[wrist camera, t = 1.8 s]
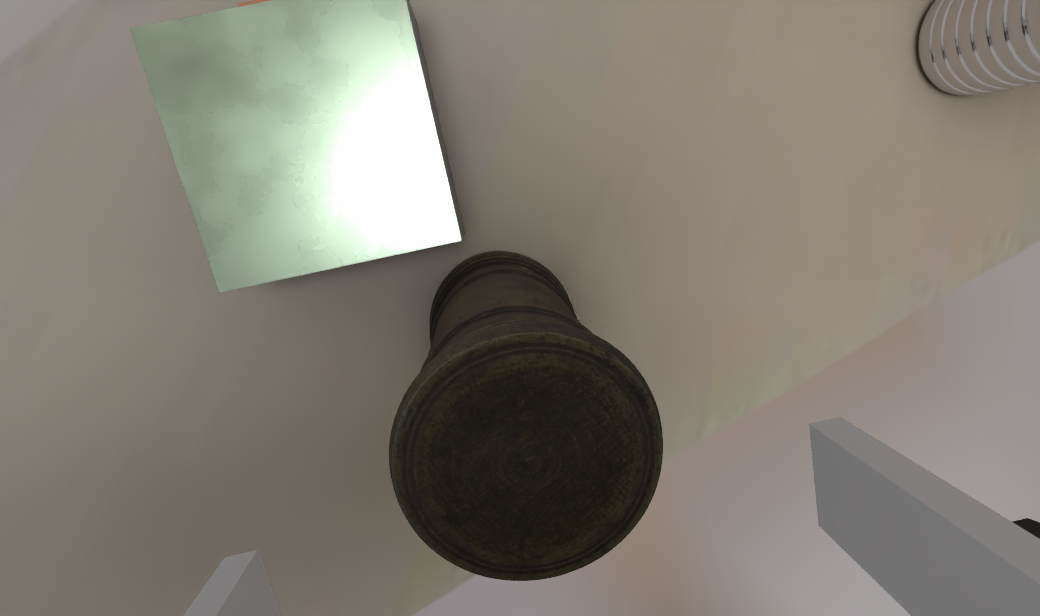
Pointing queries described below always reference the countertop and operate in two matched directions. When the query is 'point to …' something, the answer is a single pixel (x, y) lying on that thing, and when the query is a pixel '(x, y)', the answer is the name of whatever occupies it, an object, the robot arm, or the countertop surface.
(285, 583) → the countertop surface
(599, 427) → the container
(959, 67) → the water bottle
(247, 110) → the grey square box
